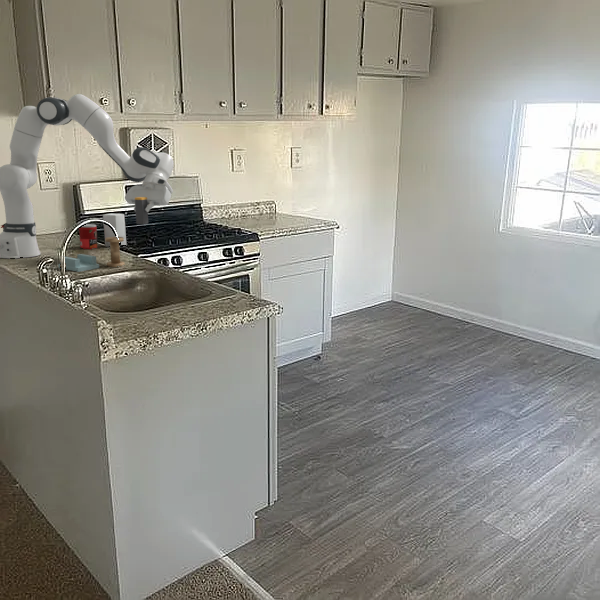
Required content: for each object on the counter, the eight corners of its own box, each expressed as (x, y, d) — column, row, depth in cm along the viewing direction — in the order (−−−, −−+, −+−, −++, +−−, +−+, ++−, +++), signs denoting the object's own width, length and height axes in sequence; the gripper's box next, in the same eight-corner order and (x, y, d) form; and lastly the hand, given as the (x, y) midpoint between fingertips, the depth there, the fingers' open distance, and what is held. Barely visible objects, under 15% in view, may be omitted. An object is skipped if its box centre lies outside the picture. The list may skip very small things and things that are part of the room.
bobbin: (104, 267, 248) (102, 238, 245) (110, 263, 254) (108, 236, 252) (121, 267, 247) (120, 239, 245) (127, 264, 254) (125, 237, 251)
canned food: (92, 249, 286) (91, 226, 284) (76, 248, 288) (75, 225, 285) (100, 247, 294) (99, 224, 291) (85, 246, 295) (84, 223, 292)
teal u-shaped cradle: (58, 267, 244) (57, 256, 242) (79, 264, 252) (78, 253, 251) (78, 271, 237) (77, 260, 236) (99, 267, 246) (98, 256, 244)
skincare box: (126, 246, 299) (125, 214, 295) (117, 247, 293) (115, 215, 289) (114, 244, 303) (112, 212, 299) (104, 246, 297) (102, 213, 293)
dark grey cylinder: (136, 223, 256) (134, 197, 253) (141, 222, 259) (139, 197, 256) (143, 224, 254) (141, 197, 252) (148, 223, 258) (146, 197, 255)
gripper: (129, 180, 262) (116, 205, 256) (170, 181, 255) (157, 206, 249) (136, 189, 268) (123, 214, 261) (176, 191, 260) (164, 216, 254)
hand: (140, 210), depth 255 cm, fingers closed on dark grey cylinder, 3 cm apart
